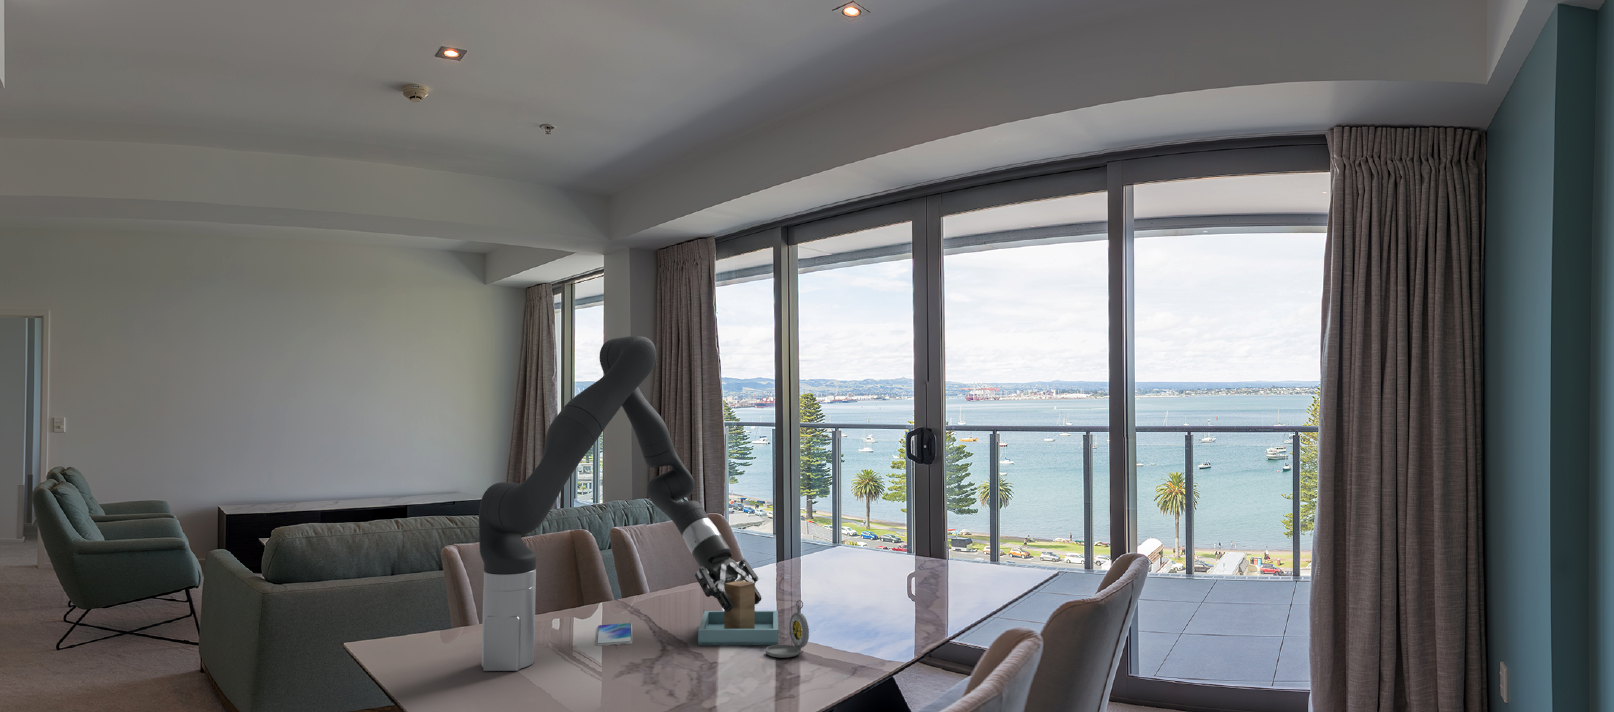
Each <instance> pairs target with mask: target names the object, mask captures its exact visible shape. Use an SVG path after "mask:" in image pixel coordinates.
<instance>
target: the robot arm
mask: <svg viewBox="0 0 1614 712" xmlns="http://www.w3.org/2000/svg"><path fill="white" fill-rule="evenodd" d="M656 361H657V349H656V345H655V344H654V342H653V341H652V340H651V339H649V338H648V337H646V336H640V335H631V336H625V337H623V336H622V337H616V338H612V339H609V340H607V341H604V343H603V345H602V346H601V348H600V350H599V364H600V367H601V369H602V371H603V374H604V375H603V376H601V378H599V379H598V380H596V381H595V382H594V383H593V384H591V385H589V386H587V387H586V388H585V389H583V390H582V391H581V392H579V393H578V394H576V395H575V396H574V397H572V398H571V399H570V400H569V401H568V402H567V403H566V404H565V405H564V406H563V407H562V409H561V410H560V412H559V413H558V414H557V416H556V417H555V418H554V419H552V422H551V423H550V425H549V426H548V429H547V431H546V435H545V441H544V442H545V443H544V452H543V456H542V458H541V460H540V462H539V463H538V465H537V466H536V467H535V468H534V470H533V471H532V473H531V474H530V475H529V476H528V478H526V479H525V480H524V481H523V482H522V483H521V482H520V483H518V482H503V481H502V482H497V483H493V484H492V485H489V487H487V488H486V490H485V491H484V493H483V495H482V497H481V500H480V502H479V503H480V504H479V509H478V510H479V511H478V534H479V535H478V537H479V542H478V543H479V553H480V557H481V559H482V562H483V591H482V592H483V593H482V596H483V597H482V624H481V625H482V628H481V634H482V635H481V667H482V668H483V670H482V671H483V672H496V671H497V672H500V671H501V672H502V671H503V672H509V671H510V672H511V671H513V672H514V671H515V672H517V671H519V670H520V669H523V668H527V667H530V666H531V665H533V663H534V662H535V634H536V633H535V632H536V630H535V629H536V628H535V627H536V625H535V623H536V591H537V589H536V587H537V586H536V583H537V581H536V579H537V555H536V553H535V552H534V551H533V550H532V549H530V548H529V547H528V546H527V545H526V544H525V542H524V540H523V538H522V535H526V534H530V533H533V532H534V531H535V530H537V529H538V528H539V527H540V526H541V525H542V523H543V522H544V521H545V519H546V517H547V516H548V514H549V513H550V511H551V510H552V508H553V506H554V504H555V502H556V501H557V499H558V497H559V496H560V493H561V492H562V490H563V488H564V487H565V485H566V483H567V482H568V480H569V479H570V478H571V476H572V475H573V473H574V472H575V470H576V469H577V467H578V466H579V464H580V463H581V462H582V460H583V459H584V458H585V456H586V455H587V453H588V452H589V451H590V450H591V449H592V447H593V446H594V445H595V443H596V442H597V441H598V439H599V438H600V437H601V435H602V434H603V432H604V430H605V429H606V428H607V426H608V425H609V424H610V422H611V421H612V419H613V418H614V416H615V415H616V414H617V412H618V411H619V410H620V408H621V407H622V409H623V411H624V412H625V414H626V417H627V418H628V420H629V422H630V424H631V426H632V429H633V431H634V433H635V436H636V439H637V442H638V445H639V448H640V450H641V453H642V456H643V459H644V462H645V464H646V465H647V467H649V468H651V469H652V468H654V469H655V468H660V467H666V466H669V468H670V469H669V470H668V471H666V472H664V473H662V474H660V475H657V476H655V477H653V478H651V479H650V480H649V481H648V482H647V485H646V493H647V496H648V498H649V500H650V501H651V502H652V503H653V504H654V506H655V507H656V508H657V509H659V510H660V511H661V512H662V513H664V514H665V515H666V516H667V518H669V519H670V520H671V521H672V522H673V524H674V525H675V526H676V528H677V530H678V531H679V533H680V535H681V537H682V538H683V541H684V543H685V545H686V547H687V548H688V550H689V552H690V553H691V555H692V556H693V559H694V560H695V562H696V564H697V565H698V566H699V569H698V570H697V571H696V572H695V574H694V577H695V578H696V580H697V582H698V585H699V586H700V588H701V590H702V592H703V593H704V596H706V598H710V597H711V596H712V597H713V598H714V599H716V600H717V602H718V604H719V605H720V606H721V608H722V609H723V611H724V610H725V611H726V612H729V611H730V610H731V609H732V608H733V607H734V605H733V603H732V601H731V600H730V598H729V596H728V595H727V593H726V591H725V583H729V582H734V581H738V580H741V581H746V582H752V583H755V584H756V583H757V582H758V581H759V580H760V579H759V577H758V575H757V573H756V571H754V569H753V568H752V566H751V565H750V564H749V562H748V561H747V559H746V558H743V557H742V558H741V559H740V561H736V560H734V559H733V557H732V550H731V548H730V546H729V545H728V543H727V541H726V540H725V538H724V537H723V535H722V533H721V532H720V531H719V529H718V527H717V526H716V525H715V524H714V522H713V521H712V519H710V517H709V515H708V514H707V512H706V510H705V509H704V507H703V506H702V504H701V503H700V502H699V501H697V500H691V499H690V500H687V501H681V500H682V499H685V498H687V497H688V496H690V495H691V496H692V494H693V493H694V490H695V486H696V485H695V479H694V478H693V477H694V476H692V474H691V472H690V471H689V469H688V468H687V467H686V465H684V463H683V461H682V460H681V458H680V457H679V455H678V453H677V451H676V449H675V446H674V444H673V440H672V437H671V435H670V431H669V429H668V426H667V425H666V423H665V421H664V419H663V418H662V417H661V415H660V414H659V412H658V411H656V409H655V408H654V407H653V406H652V405H651V403H649V401H648V400H647V398H645V396H644V394H643V393H642V391H641V389H640V388H639V386H640V385H641V384H642V383H643V382H644V381H645V380H646V378H648V376H649V375H650V374H651V373H652V371H653V369H654V368H655V365H656ZM680 501H681V502H680ZM761 601H762V596H761V593H760V591H759V590H758V589H757V587H756V586H755V606H757V605H758V604H759V603H760V602H761Z"/></svg>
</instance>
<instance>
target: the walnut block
mask: <svg viewBox="0 0 1614 712" xmlns="http://www.w3.org/2000/svg"><path fill="white" fill-rule="evenodd" d="M755 587H756V583H752V582H746V581H744V580H743V581H741V580H738V581H734V582H729V583H725V586H724V591H726V593H727V595H728V596H729V598H730V600H731V601H732V603H733V605H734V607H733V608H732V609H731V610H730V611H729V612H726V611H725V610H724V609H723V611H724V629H755V611H756V610H755V609H756V607H755V606H756V605H755Z"/></svg>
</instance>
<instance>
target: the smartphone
mask: <svg viewBox="0 0 1614 712" xmlns="http://www.w3.org/2000/svg"><path fill="white" fill-rule="evenodd" d="M632 644H633V625H632V623H631V622H624V623H610V624H599V625H597V632H596V640H595V645H596V646H598V647H599V646H600V647H601V646H602V647H604V646H613V645H616V646H622V645H624V646H626V645H632Z"/></svg>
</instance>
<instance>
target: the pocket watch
mask: <svg viewBox="0 0 1614 712" xmlns="http://www.w3.org/2000/svg"><path fill="white" fill-rule="evenodd" d="M799 602H800V603H801V605H800V604H798V603H799ZM795 605H796V610H797V612H794V613H793V614H792V615H791V616H790V621H789V635H790V639H791V641H792V643H793V645H792V644H778V645H768V646H767V647H766V648H765V653H766V655H768V656H770V657H773V658H779V659H780V658H792V657H796V656H797V655H799V654H800V652H801V649H802V648H804V647H805V646H807V644H808V642H809V637H810V630H809V624H808V620H807V618H806V616H805V615H804V614H803V613H801V610H802V608H803V607H804V602H803V600H801V599H798V600H797V601H796V603H795Z"/></svg>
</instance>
